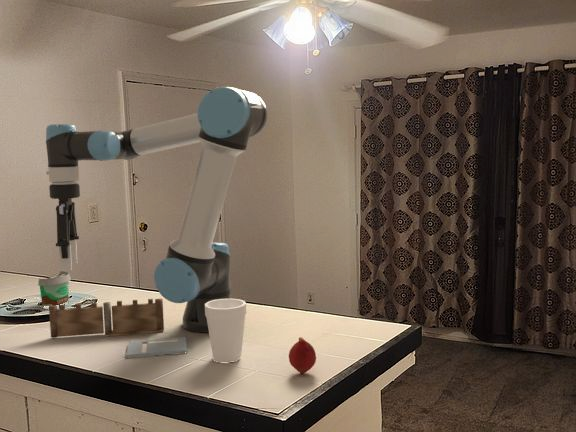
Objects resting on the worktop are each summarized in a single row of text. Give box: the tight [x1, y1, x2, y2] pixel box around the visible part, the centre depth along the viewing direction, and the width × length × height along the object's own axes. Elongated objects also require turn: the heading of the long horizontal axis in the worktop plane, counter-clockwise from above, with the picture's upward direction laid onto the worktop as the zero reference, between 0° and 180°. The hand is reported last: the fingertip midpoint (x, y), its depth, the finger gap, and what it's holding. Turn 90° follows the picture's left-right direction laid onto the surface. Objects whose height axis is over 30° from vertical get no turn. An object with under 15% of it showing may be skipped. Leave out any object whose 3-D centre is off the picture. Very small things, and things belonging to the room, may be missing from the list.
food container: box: [37, 270, 72, 308], centre depth 184 cm, size 12×6×10 cm, turn 168°
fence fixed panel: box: [102, 298, 165, 337], centre depth 156 cm, size 15×4×9 cm, turn 101°
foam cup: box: [205, 298, 247, 363], centre depth 135 cm, size 10×9×13 cm
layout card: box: [125, 336, 188, 359], centre depth 143 cm, size 14×10×1 cm
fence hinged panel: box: [48, 301, 105, 339], centre depth 153 cm, size 13×2×8 cm, turn 101°
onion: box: [288, 336, 317, 374], centre depth 125 cm, size 6×6×8 cm
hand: (69, 266), depth 158 cm, fingers open, 9 cm apart
